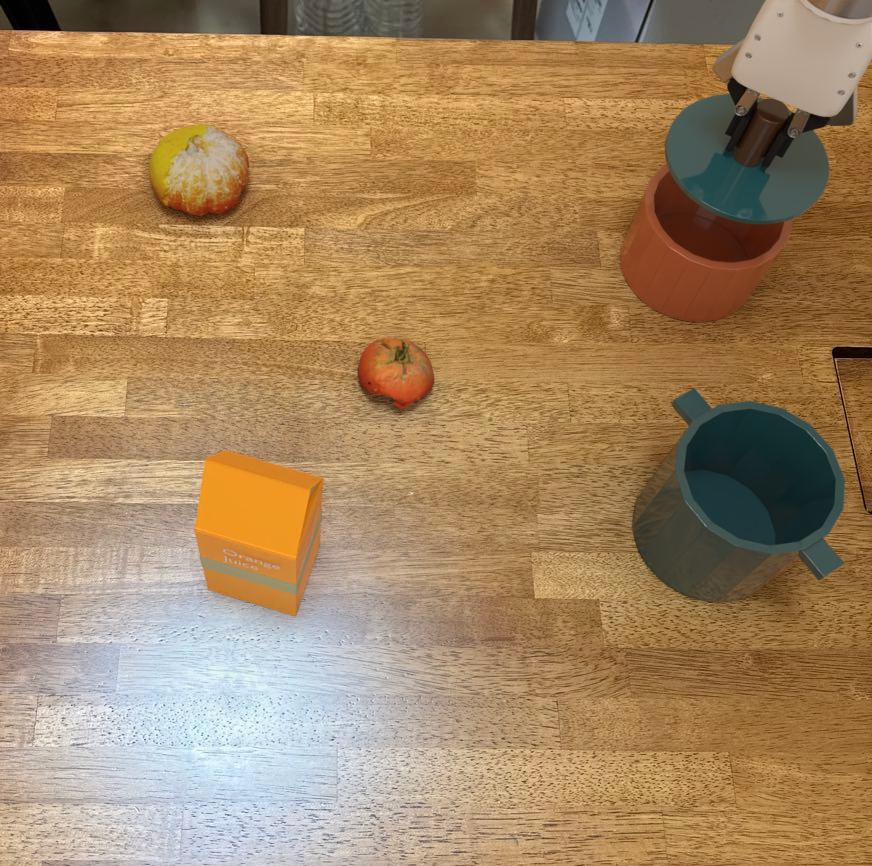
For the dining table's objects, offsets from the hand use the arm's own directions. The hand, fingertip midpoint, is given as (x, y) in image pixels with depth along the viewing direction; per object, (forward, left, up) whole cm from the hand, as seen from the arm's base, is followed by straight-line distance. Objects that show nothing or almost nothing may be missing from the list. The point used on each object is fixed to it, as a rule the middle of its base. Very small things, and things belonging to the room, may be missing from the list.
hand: (751, 147), depth 96 cm
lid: (0, 0, -2) cm, 2 cm away
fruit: (+41, -36, -18) cm, 57 cm away
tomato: (+36, -4, -18) cm, 40 cm away
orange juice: (+58, +7, -18) cm, 61 cm away
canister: (0, 0, -17) cm, 17 cm away
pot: (+19, +26, -17) cm, 37 cm away
